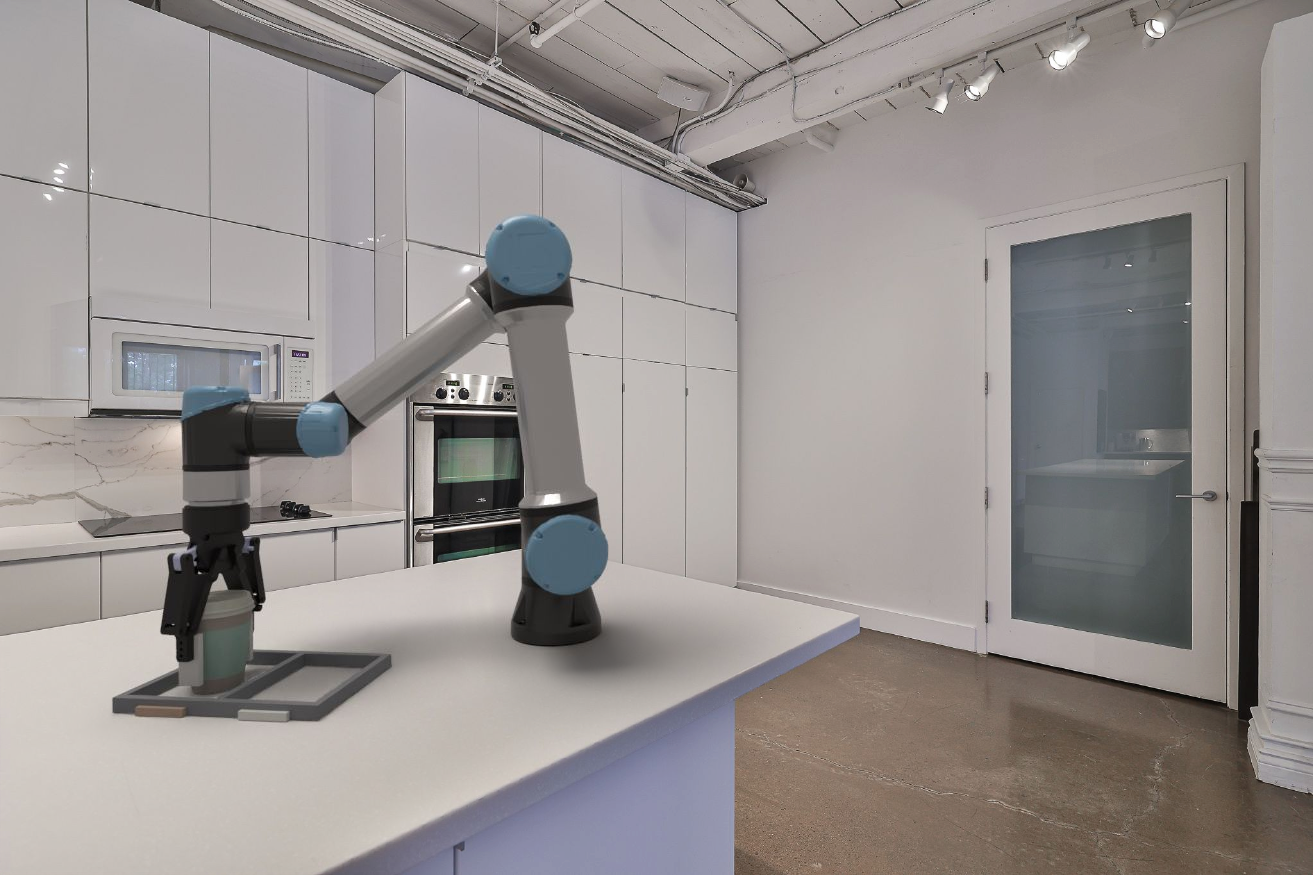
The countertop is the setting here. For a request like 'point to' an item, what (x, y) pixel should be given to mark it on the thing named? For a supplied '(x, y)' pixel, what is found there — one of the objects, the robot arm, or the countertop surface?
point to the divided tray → (257, 689)
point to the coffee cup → (225, 639)
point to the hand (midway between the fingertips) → (218, 671)
